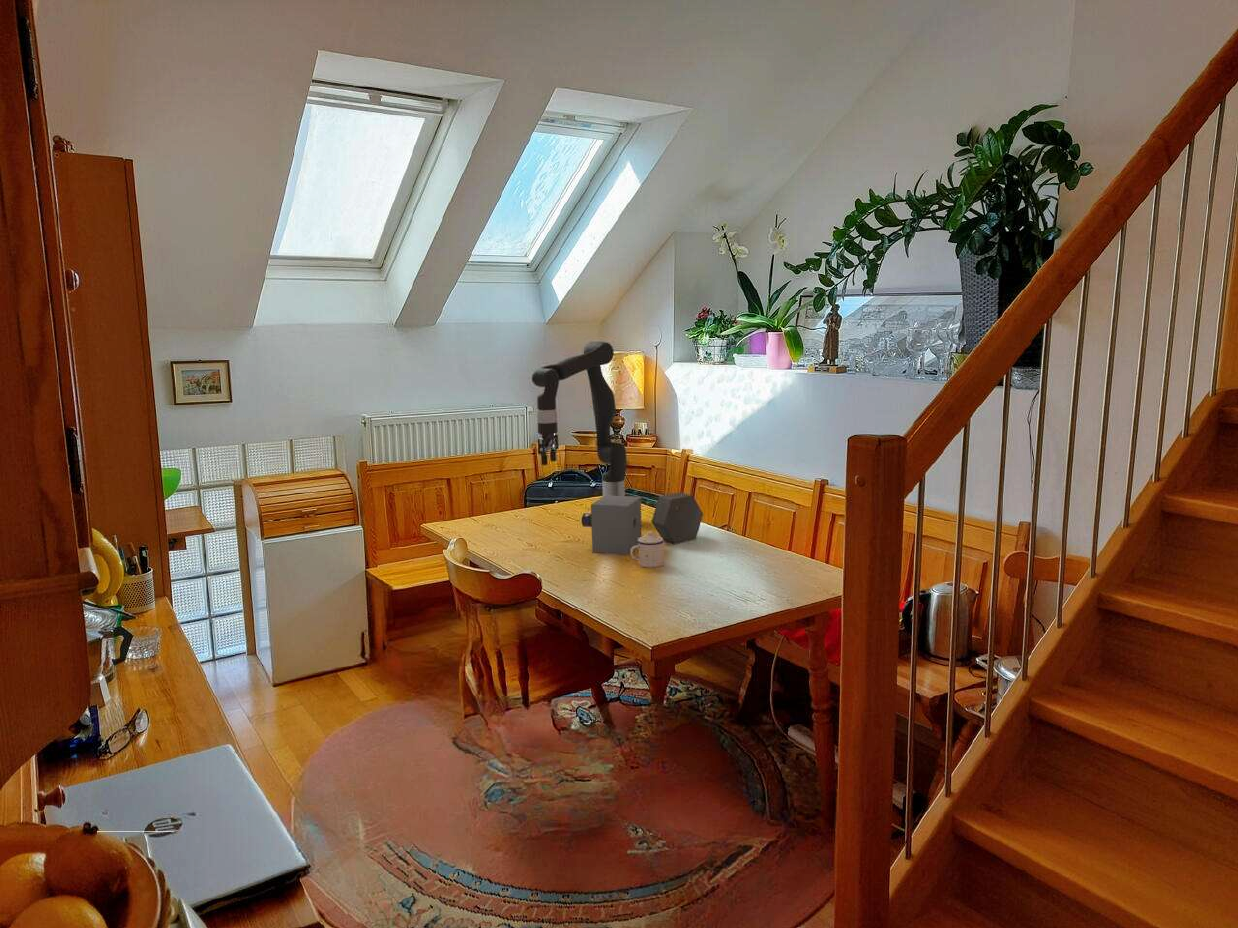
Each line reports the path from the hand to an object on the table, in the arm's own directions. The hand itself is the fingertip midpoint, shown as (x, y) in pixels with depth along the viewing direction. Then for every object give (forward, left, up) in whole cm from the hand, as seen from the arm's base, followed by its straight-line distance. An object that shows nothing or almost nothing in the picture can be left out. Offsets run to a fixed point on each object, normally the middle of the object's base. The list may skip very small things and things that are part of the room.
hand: (549, 463), depth 330 cm
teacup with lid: (+24, +46, -30) cm, 60 cm away
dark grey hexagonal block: (-10, +48, -30) cm, 58 cm away
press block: (+6, +29, -30) cm, 42 cm away
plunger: (+6, +26, -23) cm, 35 cm away
